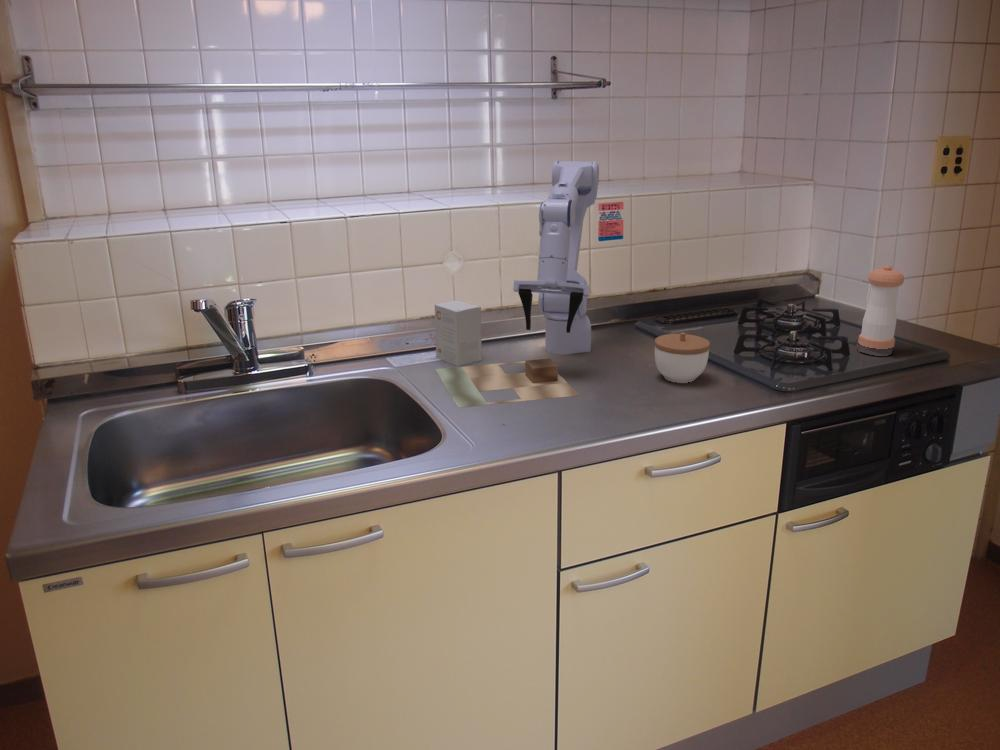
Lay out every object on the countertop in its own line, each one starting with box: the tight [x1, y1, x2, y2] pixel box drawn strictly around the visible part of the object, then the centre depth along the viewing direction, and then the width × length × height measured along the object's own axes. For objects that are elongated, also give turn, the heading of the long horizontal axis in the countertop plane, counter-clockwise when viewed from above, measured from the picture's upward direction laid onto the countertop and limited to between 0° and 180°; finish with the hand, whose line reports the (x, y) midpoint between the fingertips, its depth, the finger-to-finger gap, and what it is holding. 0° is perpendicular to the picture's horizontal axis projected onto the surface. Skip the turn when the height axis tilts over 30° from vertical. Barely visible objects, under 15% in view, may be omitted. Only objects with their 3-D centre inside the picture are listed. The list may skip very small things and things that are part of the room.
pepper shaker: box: [857, 265, 905, 349], centre depth 176 cm, size 7×7×19 cm
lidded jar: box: [654, 332, 711, 384], centre depth 162 cm, size 11×11×9 cm
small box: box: [434, 299, 483, 367], centre depth 170 cm, size 8×6×13 cm
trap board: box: [434, 360, 581, 409], centre depth 158 cm, size 23×22×2 cm
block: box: [524, 358, 559, 383], centre depth 159 cm, size 5×5×3 cm
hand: (548, 330), depth 157 cm, fingers open, 7 cm apart
